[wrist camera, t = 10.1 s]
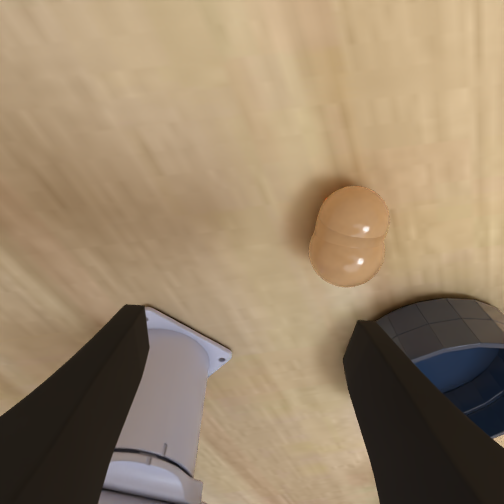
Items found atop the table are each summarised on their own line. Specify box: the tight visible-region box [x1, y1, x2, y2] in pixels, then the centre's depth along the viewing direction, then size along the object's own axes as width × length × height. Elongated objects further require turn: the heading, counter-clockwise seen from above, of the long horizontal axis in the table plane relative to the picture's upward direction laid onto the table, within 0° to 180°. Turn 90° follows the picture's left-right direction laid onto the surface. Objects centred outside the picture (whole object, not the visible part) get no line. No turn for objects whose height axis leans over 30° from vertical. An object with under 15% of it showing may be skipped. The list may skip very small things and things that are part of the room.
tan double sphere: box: [309, 186, 390, 287], centre depth 17 cm, size 6×4×4 cm
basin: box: [345, 298, 504, 439], centre depth 23 cm, size 13×13×4 cm
